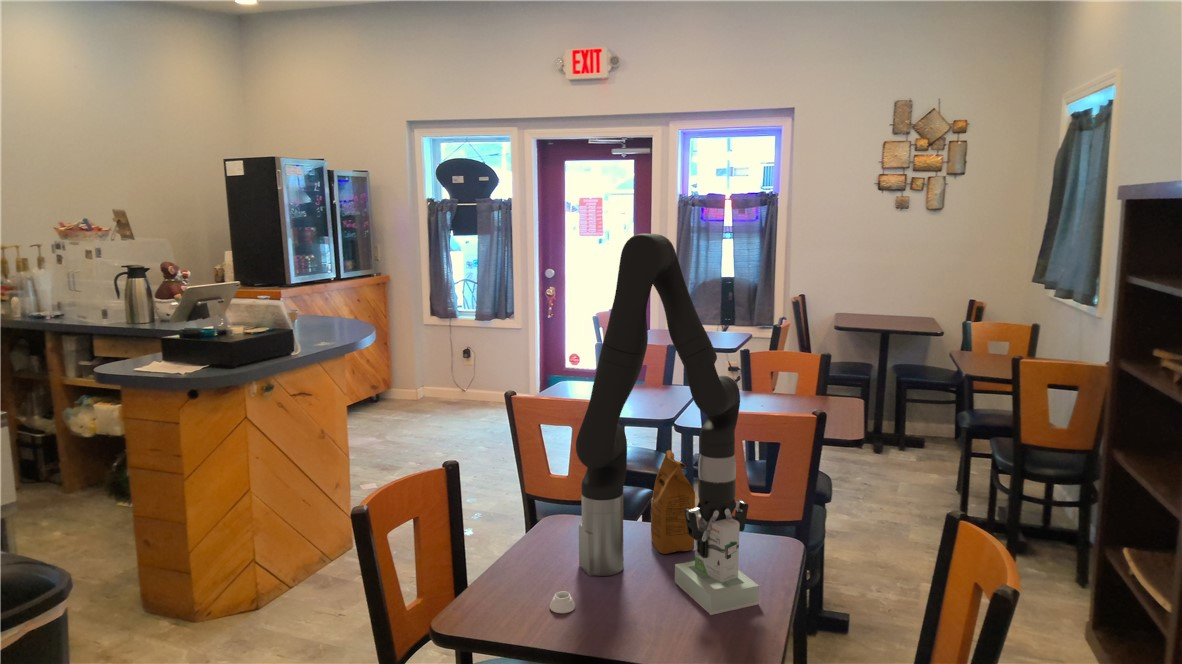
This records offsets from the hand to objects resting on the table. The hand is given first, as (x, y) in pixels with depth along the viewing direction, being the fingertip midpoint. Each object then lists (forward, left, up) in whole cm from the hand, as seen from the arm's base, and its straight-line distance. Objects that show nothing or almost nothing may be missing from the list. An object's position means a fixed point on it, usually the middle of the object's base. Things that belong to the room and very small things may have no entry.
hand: (716, 553), depth 156 cm
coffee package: (+3, +25, -9) cm, 27 cm away
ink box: (0, 0, -4) cm, 4 cm away
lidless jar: (-32, +6, -9) cm, 33 cm away
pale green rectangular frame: (0, 0, -8) cm, 8 cm away
